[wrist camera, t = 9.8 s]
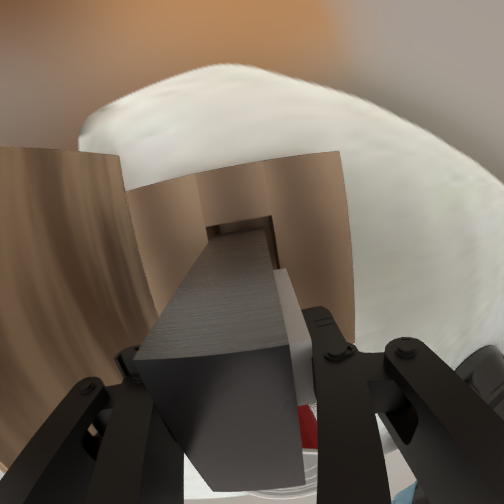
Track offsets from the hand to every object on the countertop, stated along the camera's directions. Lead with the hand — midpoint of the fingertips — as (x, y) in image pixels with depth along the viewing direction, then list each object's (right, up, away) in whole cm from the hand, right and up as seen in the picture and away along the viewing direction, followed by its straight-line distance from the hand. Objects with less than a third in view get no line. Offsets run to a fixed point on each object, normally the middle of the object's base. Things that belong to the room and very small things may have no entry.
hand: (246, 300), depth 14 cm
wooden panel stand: (-3, +2, +11) cm, 11 cm away
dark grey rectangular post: (0, +1, +3) cm, 3 cm away
